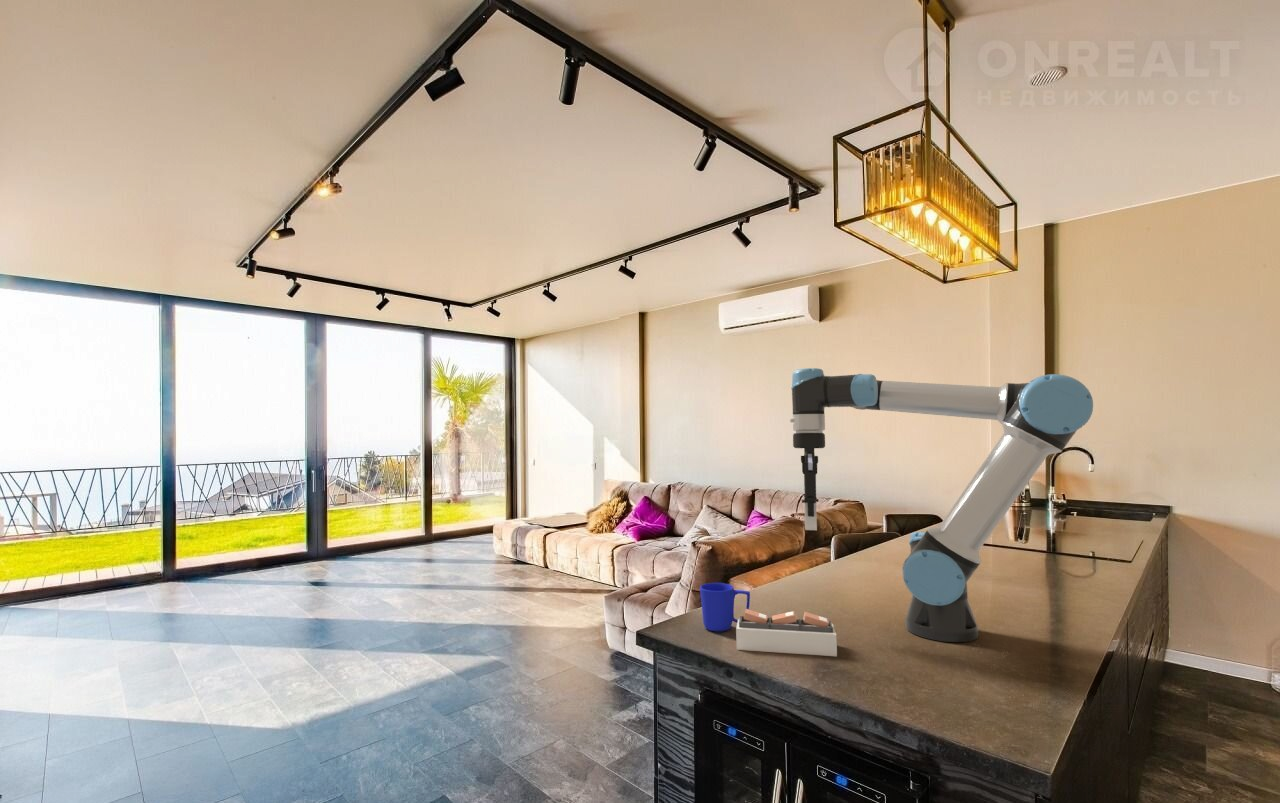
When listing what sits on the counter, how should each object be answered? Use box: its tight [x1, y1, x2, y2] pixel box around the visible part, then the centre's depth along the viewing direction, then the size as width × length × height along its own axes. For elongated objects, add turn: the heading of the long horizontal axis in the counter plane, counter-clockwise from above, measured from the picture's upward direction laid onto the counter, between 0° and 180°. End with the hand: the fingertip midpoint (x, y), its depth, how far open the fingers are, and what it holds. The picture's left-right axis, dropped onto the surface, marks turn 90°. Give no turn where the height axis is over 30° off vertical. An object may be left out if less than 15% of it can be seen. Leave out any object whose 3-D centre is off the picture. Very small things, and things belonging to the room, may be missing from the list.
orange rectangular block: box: [802, 611, 829, 627], centre depth 126 cm, size 5×3×2 cm, turn 76°
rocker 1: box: [743, 608, 768, 624], centre depth 129 cm, size 5×3×2 cm, turn 76°
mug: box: [699, 582, 751, 633], centre depth 140 cm, size 8×12×10 cm
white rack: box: [735, 615, 838, 657], centre depth 127 cm, size 21×7×6 cm, turn 77°
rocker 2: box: [771, 610, 797, 625], centre depth 128 cm, size 5×3×2 cm, turn 78°
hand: (810, 529), depth 139 cm, fingers closed
